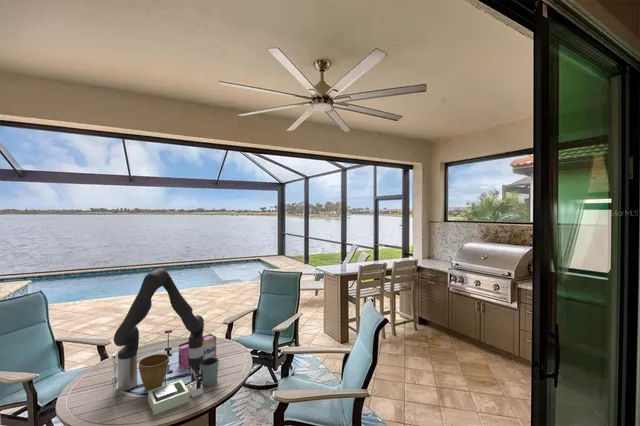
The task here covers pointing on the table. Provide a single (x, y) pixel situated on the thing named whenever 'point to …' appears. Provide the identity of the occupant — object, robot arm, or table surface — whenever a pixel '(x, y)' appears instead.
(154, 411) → the tote
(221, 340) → the table surface
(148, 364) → the plant pot
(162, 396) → the tin block
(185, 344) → the gum box
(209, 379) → the teal cup
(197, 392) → the off-white carton
